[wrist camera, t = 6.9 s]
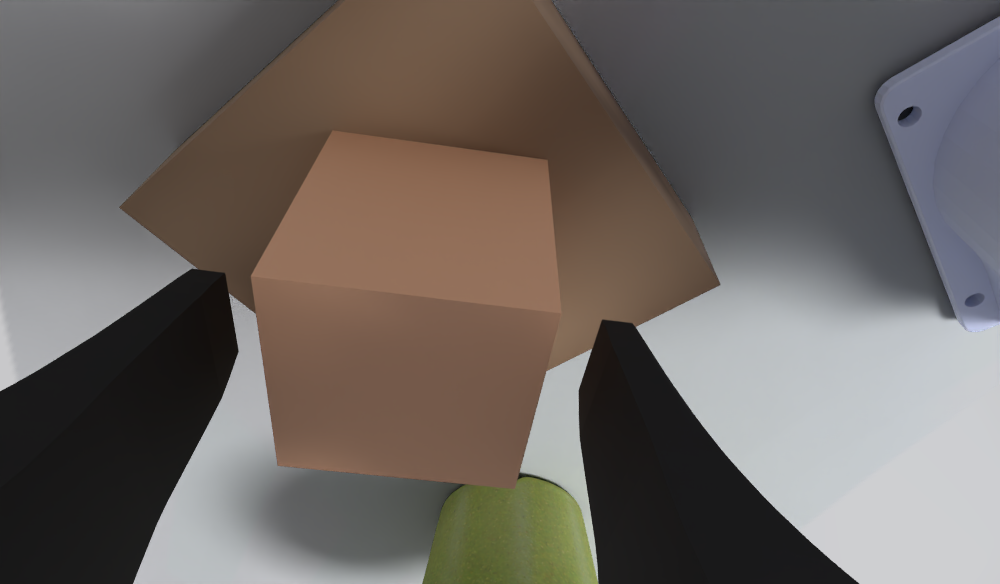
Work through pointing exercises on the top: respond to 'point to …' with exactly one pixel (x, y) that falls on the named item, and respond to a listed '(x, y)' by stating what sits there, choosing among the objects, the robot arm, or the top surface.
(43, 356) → the top surface
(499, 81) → the walnut plinth
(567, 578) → the plant pot
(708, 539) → the robot arm
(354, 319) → the terracotta block
